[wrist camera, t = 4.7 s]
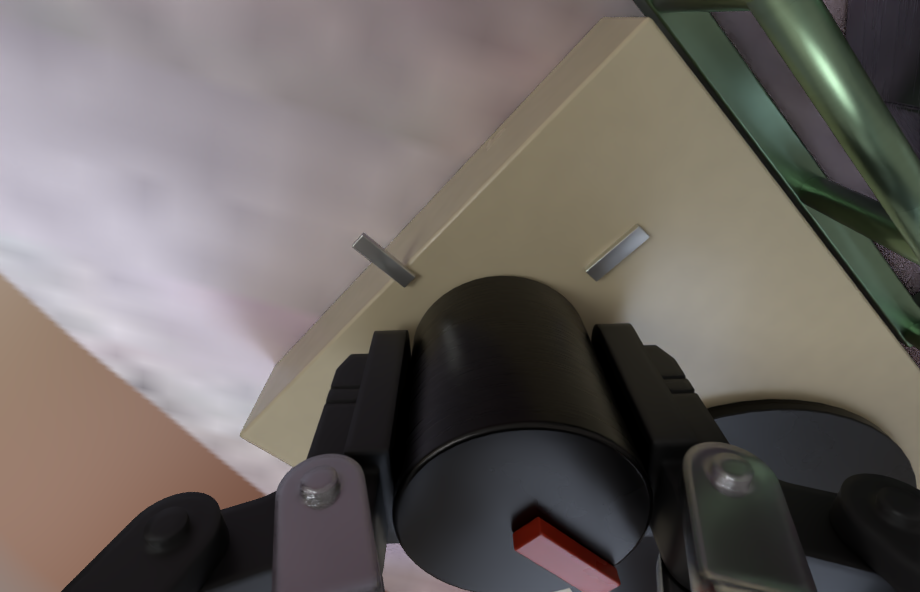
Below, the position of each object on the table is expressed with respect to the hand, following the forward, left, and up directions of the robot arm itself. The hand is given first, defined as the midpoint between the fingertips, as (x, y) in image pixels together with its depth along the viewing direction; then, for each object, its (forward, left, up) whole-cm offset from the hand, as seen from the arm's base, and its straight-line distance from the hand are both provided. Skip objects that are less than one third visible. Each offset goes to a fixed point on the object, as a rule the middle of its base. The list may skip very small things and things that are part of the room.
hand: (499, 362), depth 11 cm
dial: (0, 0, 0) cm, 0 cm away
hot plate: (0, +6, -3) cm, 7 cm away
